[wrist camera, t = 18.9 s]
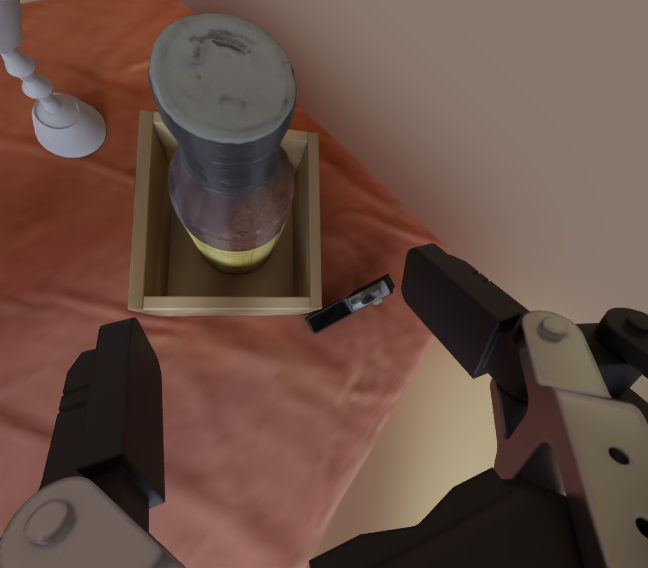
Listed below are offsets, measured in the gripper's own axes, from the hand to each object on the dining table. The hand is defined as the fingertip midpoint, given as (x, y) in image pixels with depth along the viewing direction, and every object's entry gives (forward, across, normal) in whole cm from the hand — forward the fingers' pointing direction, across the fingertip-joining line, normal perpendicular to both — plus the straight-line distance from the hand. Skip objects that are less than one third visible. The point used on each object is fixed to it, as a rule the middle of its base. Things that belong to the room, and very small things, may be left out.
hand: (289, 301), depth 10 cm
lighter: (+13, -8, +15) cm, 22 cm away
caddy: (+19, 0, +9) cm, 21 cm away
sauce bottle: (+18, 0, +8) cm, 20 cm away
